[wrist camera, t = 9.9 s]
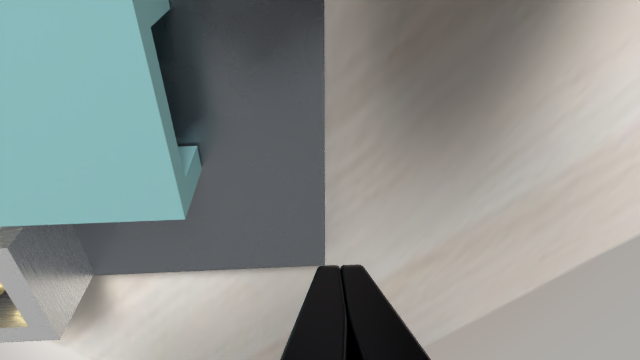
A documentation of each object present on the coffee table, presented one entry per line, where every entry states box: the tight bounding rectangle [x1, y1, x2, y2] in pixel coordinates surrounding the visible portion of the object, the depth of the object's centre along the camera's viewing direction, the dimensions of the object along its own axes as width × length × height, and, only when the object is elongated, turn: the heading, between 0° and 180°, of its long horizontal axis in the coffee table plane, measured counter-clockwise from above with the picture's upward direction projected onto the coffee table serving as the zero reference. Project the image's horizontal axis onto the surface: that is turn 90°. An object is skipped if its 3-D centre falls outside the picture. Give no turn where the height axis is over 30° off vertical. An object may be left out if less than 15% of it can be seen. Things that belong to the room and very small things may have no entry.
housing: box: [0, 0, 202, 227], centre depth 15 cm, size 7×8×4 cm
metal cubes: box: [0, 0, 325, 295], centre depth 17 cm, size 20×15×4 cm
